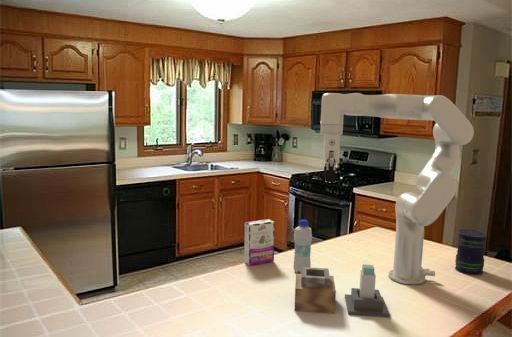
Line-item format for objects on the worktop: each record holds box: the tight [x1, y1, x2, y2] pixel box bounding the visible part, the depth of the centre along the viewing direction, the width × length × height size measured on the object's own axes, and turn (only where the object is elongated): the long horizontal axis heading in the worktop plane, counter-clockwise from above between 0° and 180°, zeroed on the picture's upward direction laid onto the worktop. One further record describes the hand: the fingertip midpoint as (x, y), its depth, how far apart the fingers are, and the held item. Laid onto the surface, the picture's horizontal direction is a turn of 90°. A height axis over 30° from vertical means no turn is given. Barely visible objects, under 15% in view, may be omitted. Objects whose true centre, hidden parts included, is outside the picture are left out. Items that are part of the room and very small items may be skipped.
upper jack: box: [293, 267, 337, 314], centre depth 135 cm, size 12×12×10 cm
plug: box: [359, 263, 377, 299], centre depth 133 cm, size 4×4×12 cm
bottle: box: [293, 219, 313, 274], centre depth 161 cm, size 7×7×20 cm
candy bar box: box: [243, 218, 275, 266], centre depth 170 cm, size 11×5×16 cm, turn 117°
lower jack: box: [344, 287, 391, 318], centre depth 134 cm, size 12×12×4 cm
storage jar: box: [454, 229, 487, 276], centre depth 166 cm, size 10×10×15 cm
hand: (329, 179), depth 150 cm, fingers open, 9 cm apart
